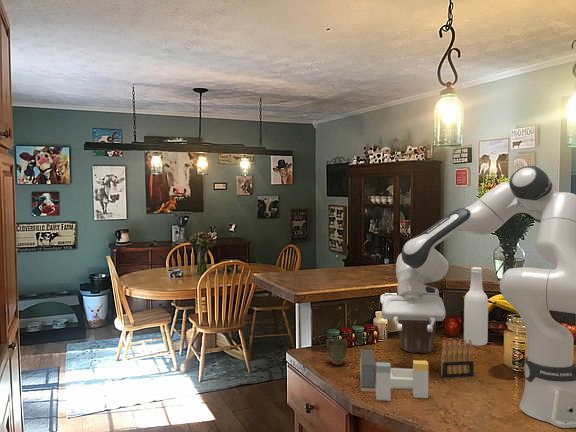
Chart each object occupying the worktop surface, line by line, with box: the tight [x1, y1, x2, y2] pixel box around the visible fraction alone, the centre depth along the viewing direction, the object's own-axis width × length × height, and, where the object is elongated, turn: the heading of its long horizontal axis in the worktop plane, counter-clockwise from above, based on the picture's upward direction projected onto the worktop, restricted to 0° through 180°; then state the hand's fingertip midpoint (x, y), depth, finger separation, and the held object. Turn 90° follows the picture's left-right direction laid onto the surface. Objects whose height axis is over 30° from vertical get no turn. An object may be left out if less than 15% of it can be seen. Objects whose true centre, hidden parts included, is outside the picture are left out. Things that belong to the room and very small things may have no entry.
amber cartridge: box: [412, 359, 429, 399], centre depth 144 cm, size 4×3×10 cm
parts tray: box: [391, 367, 413, 390], centre depth 153 cm, size 9×9×3 cm
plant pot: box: [398, 320, 437, 354], centre depth 186 cm, size 16×16×16 cm
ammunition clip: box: [439, 339, 475, 379], centre depth 159 cm, size 11×2×12 cm, turn 96°
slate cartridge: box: [375, 361, 392, 402], centre depth 142 cm, size 4×3×10 cm
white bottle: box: [463, 266, 489, 347], centre depth 193 cm, size 9×9×30 cm
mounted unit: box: [359, 349, 376, 393], centre depth 154 cm, size 5×16×8 cm, turn 173°
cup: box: [325, 338, 349, 366], centre depth 170 cm, size 8×7×8 cm
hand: (414, 330), depth 155 cm, fingers open, 8 cm apart
